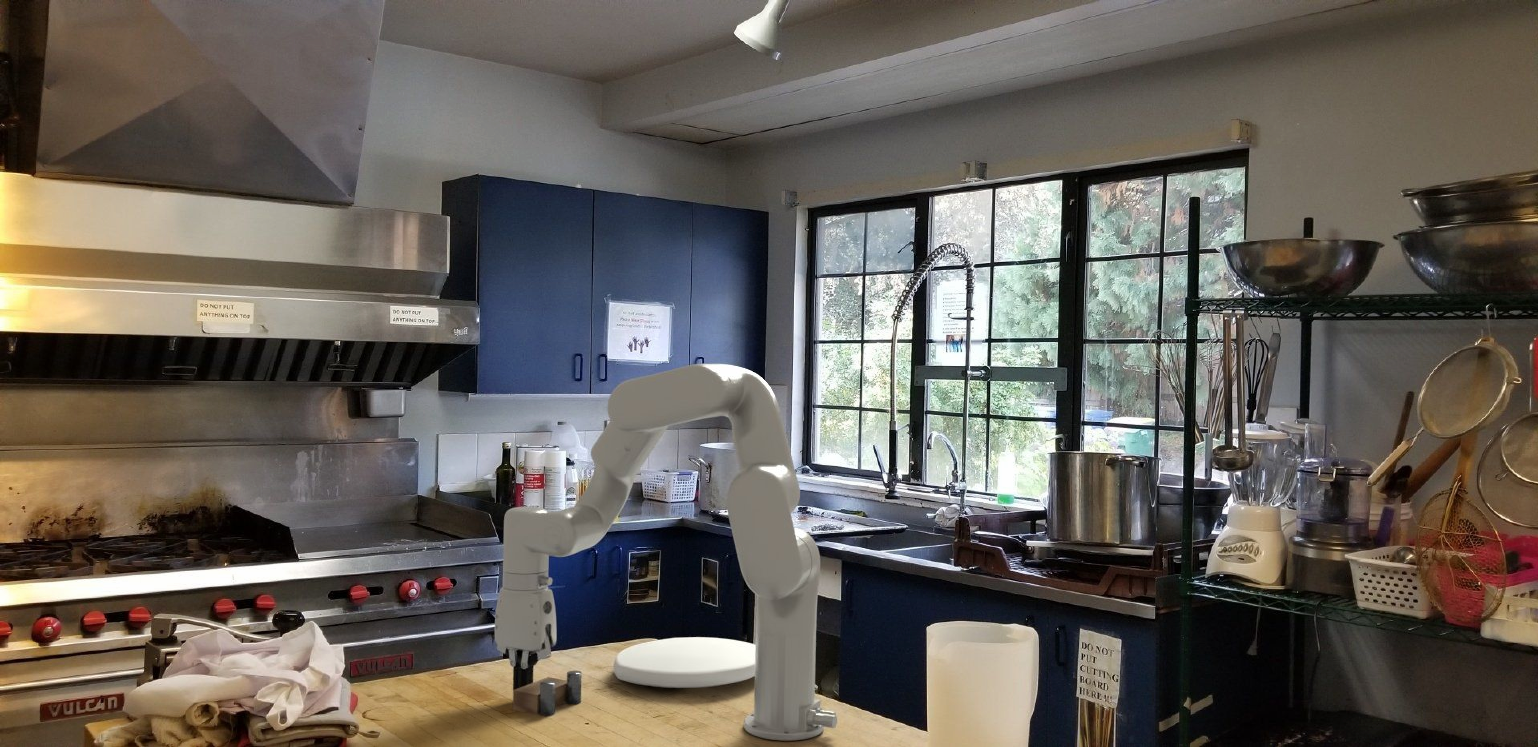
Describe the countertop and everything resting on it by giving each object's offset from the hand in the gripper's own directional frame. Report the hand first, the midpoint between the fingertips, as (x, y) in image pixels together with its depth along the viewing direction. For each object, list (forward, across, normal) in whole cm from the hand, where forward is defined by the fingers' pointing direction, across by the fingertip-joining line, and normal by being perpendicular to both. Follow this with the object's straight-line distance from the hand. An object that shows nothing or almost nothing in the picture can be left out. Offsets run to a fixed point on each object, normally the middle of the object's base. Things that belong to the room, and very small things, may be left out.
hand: (522, 689), depth 185 cm
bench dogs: (+2, -8, 0) cm, 8 cm away
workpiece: (+2, -4, 0) cm, 5 cm away
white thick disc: (+2, -17, -27) cm, 32 cm away
